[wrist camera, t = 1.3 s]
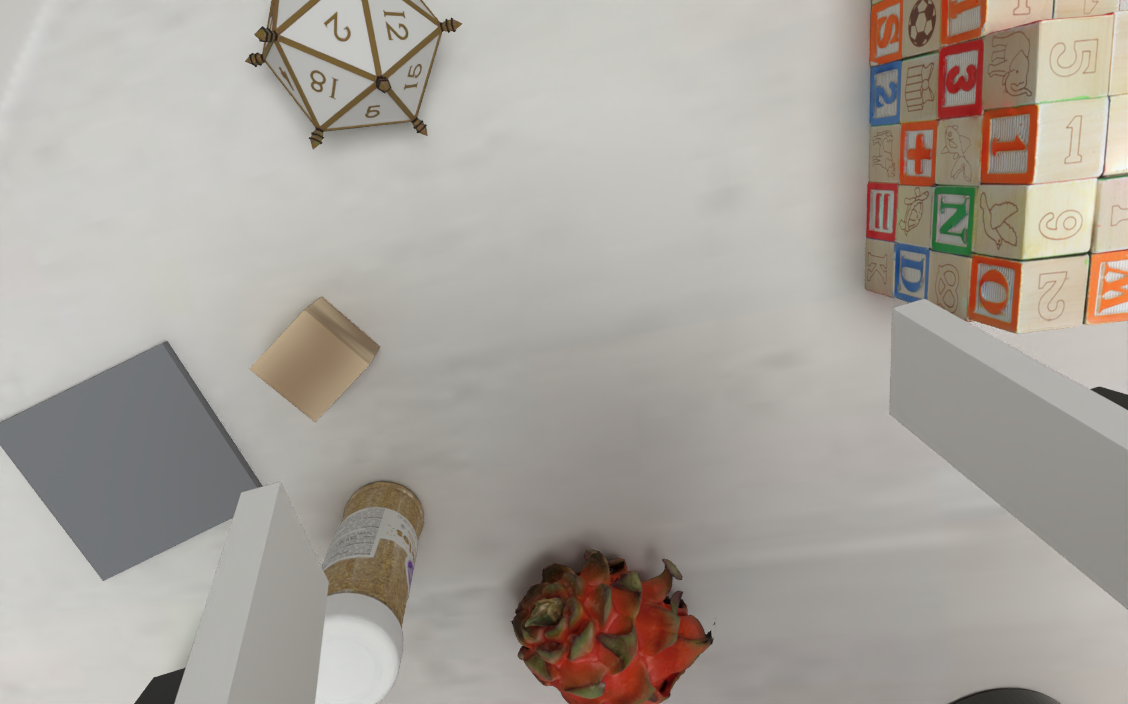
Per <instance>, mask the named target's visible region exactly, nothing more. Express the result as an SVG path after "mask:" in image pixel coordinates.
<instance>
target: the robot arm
mask: <svg viewBox="0 0 1128 704" xmlns="http://www.w3.org/2000/svg"><path fill="white" fill-rule="evenodd" d="M889 414H890V415H891V416H892V417H894V418H895V419H896V420H897V421H898V422H900V423H901V424H902V425H903V426H905V427H906V428H907V429H908V430H909V431H911V432H912V433H913V434H914V435H916V436H917V437H918V438H919V439H920V440H922V441H923V442H924V443H925V444H927V445H928V446H929V447H930V448H931V449H933V450H934V451H935V452H936V453H937V454H939V455H940V456H941V457H942V458H944V459H945V460H946V461H947V462H948V463H950V464H951V465H952V466H953V467H955V468H956V469H957V470H958V471H959V472H961V473H962V474H963V475H964V476H966V477H967V478H968V479H969V480H970V481H972V482H973V483H974V484H975V485H977V486H978V487H979V488H980V489H981V490H983V491H984V492H985V493H986V494H987V495H989V496H990V497H991V498H992V499H994V500H995V501H996V502H997V503H998V504H1000V505H1001V506H1002V507H1003V508H1005V509H1006V510H1007V511H1008V512H1009V513H1011V514H1012V515H1013V516H1014V517H1016V518H1017V519H1018V520H1019V521H1020V522H1022V523H1023V524H1024V525H1025V526H1026V527H1028V528H1029V529H1030V530H1031V531H1033V532H1034V533H1035V534H1036V535H1037V536H1039V537H1040V538H1041V539H1042V540H1044V541H1045V542H1046V543H1047V544H1048V545H1050V546H1051V547H1052V548H1053V549H1055V550H1056V551H1057V552H1058V553H1059V554H1061V555H1062V556H1063V557H1064V558H1065V559H1067V560H1068V561H1069V562H1070V563H1072V564H1073V565H1074V566H1075V567H1076V568H1078V569H1079V570H1080V571H1081V572H1083V573H1084V574H1085V575H1086V576H1087V577H1089V578H1090V579H1091V580H1092V581H1094V582H1095V583H1096V584H1097V585H1098V586H1100V587H1101V588H1102V589H1103V590H1105V591H1106V592H1107V593H1108V594H1109V595H1111V596H1112V597H1113V598H1114V599H1115V600H1117V601H1118V602H1119V603H1120V604H1122V605H1123V606H1124V607H1125V608H1126V609H1128V395H1127V394H1123V393H1120V392H1116V391H1113V390H1109V389H1106V388H1103V387H1096V388H1093V389H1088V388H1086V387H1085V386H1083V385H1081V384H1079V383H1077V382H1075V381H1074V380H1072V379H1070V378H1068V377H1066V376H1065V375H1063V374H1061V373H1059V372H1057V371H1055V370H1054V369H1052V368H1050V367H1048V366H1046V365H1044V364H1043V363H1041V362H1039V361H1037V360H1035V359H1034V358H1032V357H1030V356H1028V355H1026V354H1024V353H1023V352H1021V351H1019V350H1017V349H1015V348H1013V347H1012V346H1010V345H1008V344H1006V343H1004V342H1003V341H1001V340H999V339H997V338H995V337H993V336H992V335H990V334H988V333H986V332H984V331H982V330H981V329H979V328H977V327H975V326H973V325H972V324H970V323H968V322H966V321H964V320H962V319H961V318H959V317H957V316H955V315H953V314H951V313H950V312H948V311H946V310H944V309H942V308H941V307H939V306H937V305H935V304H933V303H931V302H930V301H928V300H926V299H922V300H918V301H915V302H911V303H908V304H904V305H901V306H897V307H894V308H892V333H891V373H890V412H889ZM328 585H329V582H328V579H327V577H326V575H325V573H324V571H323V569H322V567H321V565H320V563H319V561H318V559H317V557H316V554H315V552H314V550H313V548H312V546H311V544H310V542H309V540H308V538H307V536H306V534H305V532H304V530H303V527H302V525H301V523H300V521H299V519H298V517H297V515H296V513H295V511H294V509H293V507H292V505H291V502H290V500H289V498H288V496H287V494H286V492H285V490H284V488H283V486H282V484H281V482H277V483H273V484H270V485H266V486H263V487H259V488H256V489H252V490H249V491H245V492H242V493H241V495H240V498H239V501H238V504H237V507H236V511H235V514H234V517H233V520H232V523H231V526H230V530H229V533H228V536H227V539H226V542H225V545H224V548H223V552H222V555H221V558H220V561H219V564H218V567H217V571H216V574H215V577H214V580H213V583H212V586H211V590H210V593H209V596H208V599H207V602H206V605H205V608H204V612H203V615H202V618H201V621H200V624H199V627H198V631H197V634H196V637H195V640H194V643H193V646H192V650H191V653H190V656H189V659H188V662H187V665H186V668H184V669H180V670H177V671H174V672H171V673H167V674H164V675H161V676H157V677H154V678H153V679H152V680H151V682H150V683H149V684H148V686H147V687H146V689H145V690H144V691H143V693H142V694H141V695H140V697H139V698H138V699H137V701H136V702H135V703H134V704H315V699H316V690H317V681H318V673H319V664H320V655H321V647H322V638H323V629H324V620H325V612H326V603H327V594H328ZM955 704H1060V703H1059V702H1057V701H1056V700H1054V699H1052V698H1050V697H1048V696H1046V695H1043V694H1041V693H1037V692H1033V691H1028V690H1021V689H1003V690H995V691H989V692H985V693H981V694H977V695H974V696H971V697H969V698H966V699H964V700H962V701H959V702H957V703H955Z"/></svg>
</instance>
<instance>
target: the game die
mask: <svg viewBox="0 0 1128 704" xmlns="http://www.w3.org/2000/svg"><path fill="white" fill-rule="evenodd" d="M461 24H462V23H460V22H458V21H456V20H453V18H451V19H450V20H447V19H446V21H444V22H443V23H440V22H439V21H438V19H437V18H436V17H435V16H434V14H433V13H432V12H431V11H430V9H429V8H428V7H427V6H426V5H425V3H424V2H423V1H422V0H272V1H271V7H270V13H269V19H268V25H267V28H266V29H265V28H264V27H261V28H260V29H259V30H258V31H257V32H256V33H255V34H254V35H255V36H256V37H257V38H259V40H260V41H261V42H264V48H263V54H259V53H256V54H254V53H252V54H250V55H249V57H248V58H247V60H246V61H245V62H248V63H250V64H252V65H254V66H255V67H257V65H260V66H261V65H262V63H264V62H266V64H267V65H268V66H269V68H270V69H271V70H272V71H273V73H274V74H275V75H276V77H277V78H278V79H279V81H280V82H281V83H282V84H283V86H284V87H285V88H286V90H287V91H288V92H289V94H290V95H291V96H292V97H293V99H294V100H295V101H296V103H297V104H298V105H299V106H300V108H301V109H302V110H303V112H304V113H305V114H306V116H307V117H308V118H309V119H310V121H311V122H312V123H313V125H314V126H315V127H316V130H315V131H314V132H313V133H311V134H312V136H311V138H310V137H309V139H310V140H311V144H312V148H313V149H314V148H315V147H317V146H318V145H319V144H322V142H321V141H322V139H323V138H324V137H323V132H324V131H332V130H342V129H351V128H360V127H369V126H378V125H387V124H396V123H405V122H412V123H413V126H414V129H416V130H417V133H421V134H423V135H426V136H427V130H426V125H425V124H424V123H423V121H421V120H419V119H418V118H417V115H418V112H419V109H420V105H421V102H422V99H423V95H424V92H425V88H426V85H427V82H428V78H429V75H430V72H431V68H432V65H433V61H434V58H435V55H436V51H437V48H438V45H439V41H440V38H441V34H442V32H443V31H448V33H449V32H450V31H453V32H455V31H456V29H457V28H458V27H459V26H460V25H461Z"/></svg>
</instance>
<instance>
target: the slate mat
mask: <svg viewBox="0 0 1128 704" xmlns="http://www.w3.org/2000/svg"><path fill="white" fill-rule="evenodd" d="M0 446H1V447H2V448H3V450H4V451H5V452H6V454H7V455H8V456H9V457H10V459H11V460H12V461H13V463H14V464H15V465H16V467H17V468H18V469H19V471H20V472H21V473H22V475H23V476H24V477H25V479H26V480H27V481H28V483H29V484H30V485H31V487H32V488H33V489H34V490H35V492H36V493H37V494H38V496H39V497H40V498H41V500H42V501H43V502H44V504H45V505H46V506H47V508H48V509H49V510H50V512H51V513H52V514H53V516H54V517H55V518H56V519H57V521H58V522H59V523H60V525H61V526H62V527H63V529H64V530H65V531H66V533H67V534H68V535H69V537H70V538H71V539H72V541H73V542H74V543H75V545H76V546H77V547H78V549H79V550H80V551H81V552H82V554H83V555H84V556H85V558H86V559H87V560H88V562H89V563H90V564H91V566H92V567H93V568H94V570H95V571H96V572H97V574H98V575H99V576H100V578H101V579H102V580H103V581H104V580H106V579H108V578H110V577H112V576H114V575H117V574H119V573H121V572H123V571H125V570H127V569H129V568H131V567H133V566H135V565H137V564H139V563H141V562H143V561H145V560H147V559H149V558H151V557H153V556H155V555H157V554H159V553H161V552H163V551H166V550H168V549H170V548H172V547H174V546H176V545H178V544H180V543H182V542H184V541H186V540H188V539H190V538H192V537H194V536H196V535H198V534H200V533H202V532H204V531H206V530H208V529H210V528H212V527H215V526H217V525H219V524H221V523H223V522H225V521H227V520H229V519H231V518H233V517H234V514H235V511H236V507H237V504H238V501H239V498H240V495H241V493H242V492H245V491H249V490H252V489H256V488H259V487H262V485H261V484H260V482H259V481H258V479H257V478H256V476H255V475H254V473H253V471H252V470H251V468H250V467H249V465H248V464H247V462H246V461H245V459H244V458H243V456H242V455H241V453H240V452H239V450H238V449H237V447H236V446H235V444H234V442H233V441H232V439H231V438H230V436H229V435H228V433H227V432H226V430H225V429H224V427H223V426H222V424H221V423H220V421H219V420H218V418H217V416H216V415H215V413H214V412H213V410H212V409H211V407H210V406H209V404H208V403H207V401H206V400H205V398H204V397H203V395H202V394H201V392H200V391H199V389H198V387H197V386H196V384H195V383H194V381H193V380H192V378H191V377H190V375H189V374H188V372H187V371H186V369H185V368H184V366H183V365H182V363H181V361H180V360H179V358H178V357H177V355H176V354H175V352H174V351H173V349H172V348H171V346H170V345H169V343H168V342H167V341H166V342H164V343H162V344H160V345H158V346H156V347H154V348H152V349H150V350H148V351H146V352H144V353H142V354H140V355H138V356H136V357H134V358H132V359H130V360H128V361H126V362H123V363H121V364H119V365H117V366H115V367H113V368H111V369H109V370H107V371H105V372H103V373H101V374H99V375H97V376H95V377H93V378H91V379H89V380H87V381H85V382H83V383H81V384H79V385H77V386H75V387H72V388H70V389H68V390H66V391H64V392H62V393H60V394H58V395H56V396H54V397H52V398H50V399H48V400H46V401H44V402H42V403H40V404H38V405H36V406H34V407H32V408H30V409H28V410H26V411H23V412H21V413H19V414H17V415H15V416H13V417H11V418H9V419H7V420H5V421H3V422H1V423H0Z"/></svg>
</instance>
